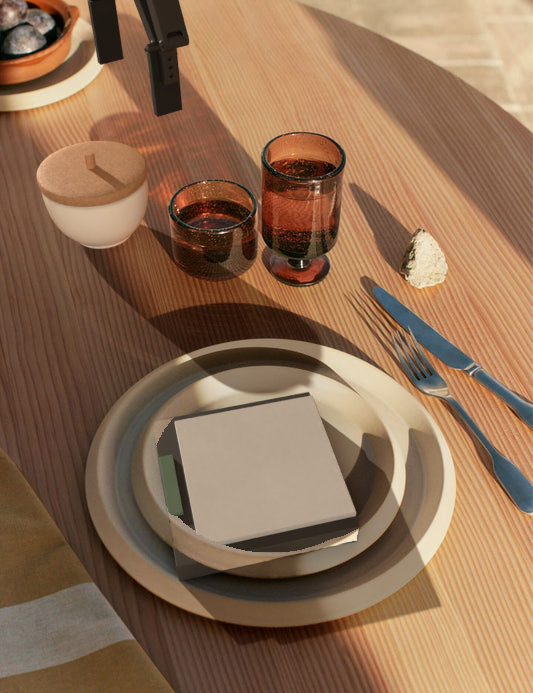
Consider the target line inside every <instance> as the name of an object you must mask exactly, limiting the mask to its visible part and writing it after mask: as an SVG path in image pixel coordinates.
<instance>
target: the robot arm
mask: <svg viewBox="0 0 533 693" xmlns="http://www.w3.org/2000/svg"><path fill="white" fill-rule="evenodd" d="M133 2H134V5H135V7H136V10H137V13H138V16H139V18H140V21H141V24H142V26H143V29H144V32H145V34H146V37H147V39H148V42H149V43H147V44H146V45H145V47H144V48H143V50H144V52H145V54H146V58H147V66H148V74H149V82H150V83H149V84H150V91H151V98H152V108H153V114H154V115H155V116H156V117H157V118H159V117H162V116H167V115H170V114H173V113H175V112H176V113H177V112H179V111H182V110H183V101H182V100H183V99H182V92H181V91H182V90H181V77H180V67H179V56H178V49H180V48H183V47H188V46H189V45H190V38H189V37H190V36H189V32H188V29H187V26H186V22H185V17H184V15H183V11H182V7H181V2H180V0H133ZM116 3H117V2H116V0H87V6H88V12H89V18H90V19H89V20H90V24H91V31H92V37H93V41H94V42H93V43H94V47H95V48H94V49H95V53H96V61H97V64H99V65H100V66H101V65H106V64H111V63H113V62H119V61H122V60H124V52H123V44H122V38H121V31H120V24H119V18H118V10H117V4H116Z"/></svg>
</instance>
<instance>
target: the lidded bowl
mask: <svg viewBox="0 0 533 693" xmlns="http://www.w3.org/2000/svg"><path fill="white" fill-rule="evenodd" d="M35 176H36V182H37V185H38V188H39V190H40V193H41V196H42V199H43V202H44V205H45V208H46V211H47V212H48V214H49V216H50V218H51V220H52V222H53V223H54V225H55V226H56V227H57V228H58V230H59V231H60V232H62V234H64V235H65V236H66V237H67V238H69V239H71V240H72V241H74V242H76V243H79V244H80V245H82V246H84V247H86V248H89V249H96V250H102V249H103V250H105V249H110V248H114V247H116V246H120V245H122V244H123V243H125V242H127V240H129V239H130V237H131V236H132V234H133V233H135V231H136V230H137V229H138V228H139V227H140V225H141V224H142V222H143V220H144V218H145V215H146V212H147V209H148V201H149V183H148V166H147V162H146V159H145V157H144V155H143V154H142V153H141V152H140V151H138V150H137V149H136V148H134V147H132V146H130V145H128V144H125V143H123V142H122V143H121V142H118V141H112V140H88V141H82V142H78V143H77V142H76V143H73V144H69V145H67V146H64V147H62V148H60V149H58V150H55V151H54V152H52V153H51V154H49V155H48V156H47V157H45V158H44V159H43V161H41V162H40V164H39V166H38V168H37V170H36V175H35Z"/></svg>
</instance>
